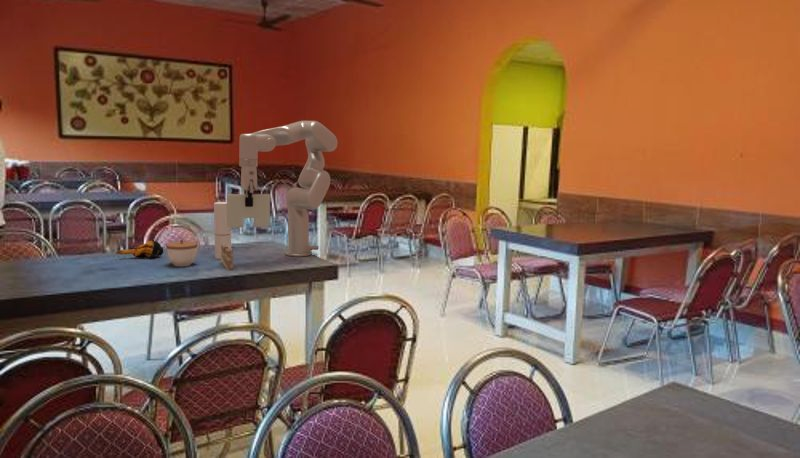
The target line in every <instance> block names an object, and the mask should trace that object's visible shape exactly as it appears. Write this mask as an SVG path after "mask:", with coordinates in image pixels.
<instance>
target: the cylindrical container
mask: <svg viewBox="0 0 800 458" xmlns="http://www.w3.org/2000/svg"><path fill="white" fill-rule="evenodd" d="M213 213H214V214H213V217H214V218H213V219H214V221H213V222H214V224H213V225H214V258H215V259H218V260H219V259H220V260H221V245H227V246H228V249H231V250H232V228H227V201H215V202H214V203H213Z"/></svg>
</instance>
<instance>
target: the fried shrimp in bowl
mask: <svg viewBox="0 0 800 458" xmlns="http://www.w3.org/2000/svg"><path fill="white" fill-rule="evenodd" d="M115 253H116V255H133V256H134V258H136V259H140V260H143V259H147V258H148V259H153V258H154V259H155V258H157V257H159V256H160V257H161V256H162V255H163V254H164V247H163V246H162V245H161V244H160V243H159V242H158V241H156V240H155V239H154V238H151V239H150V240H148V241H147V242H146V243H141V244H139V245H137V246H135V247H133V248H132V249H122V250H117V251H116V252H115Z"/></svg>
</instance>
